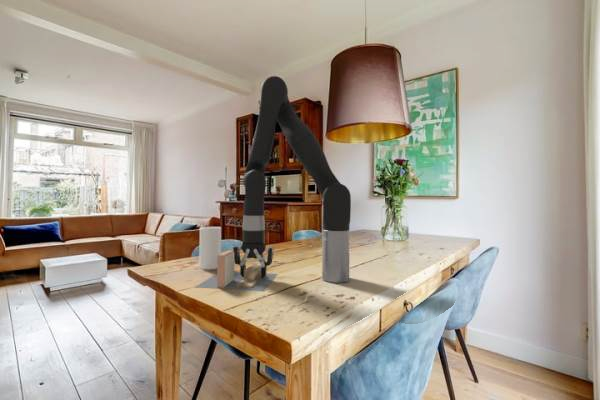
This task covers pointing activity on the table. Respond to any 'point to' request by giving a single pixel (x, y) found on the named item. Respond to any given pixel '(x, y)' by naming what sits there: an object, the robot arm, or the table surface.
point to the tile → (225, 268)
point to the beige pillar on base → (250, 276)
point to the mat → (259, 286)
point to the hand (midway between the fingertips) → (253, 276)
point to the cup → (209, 247)
